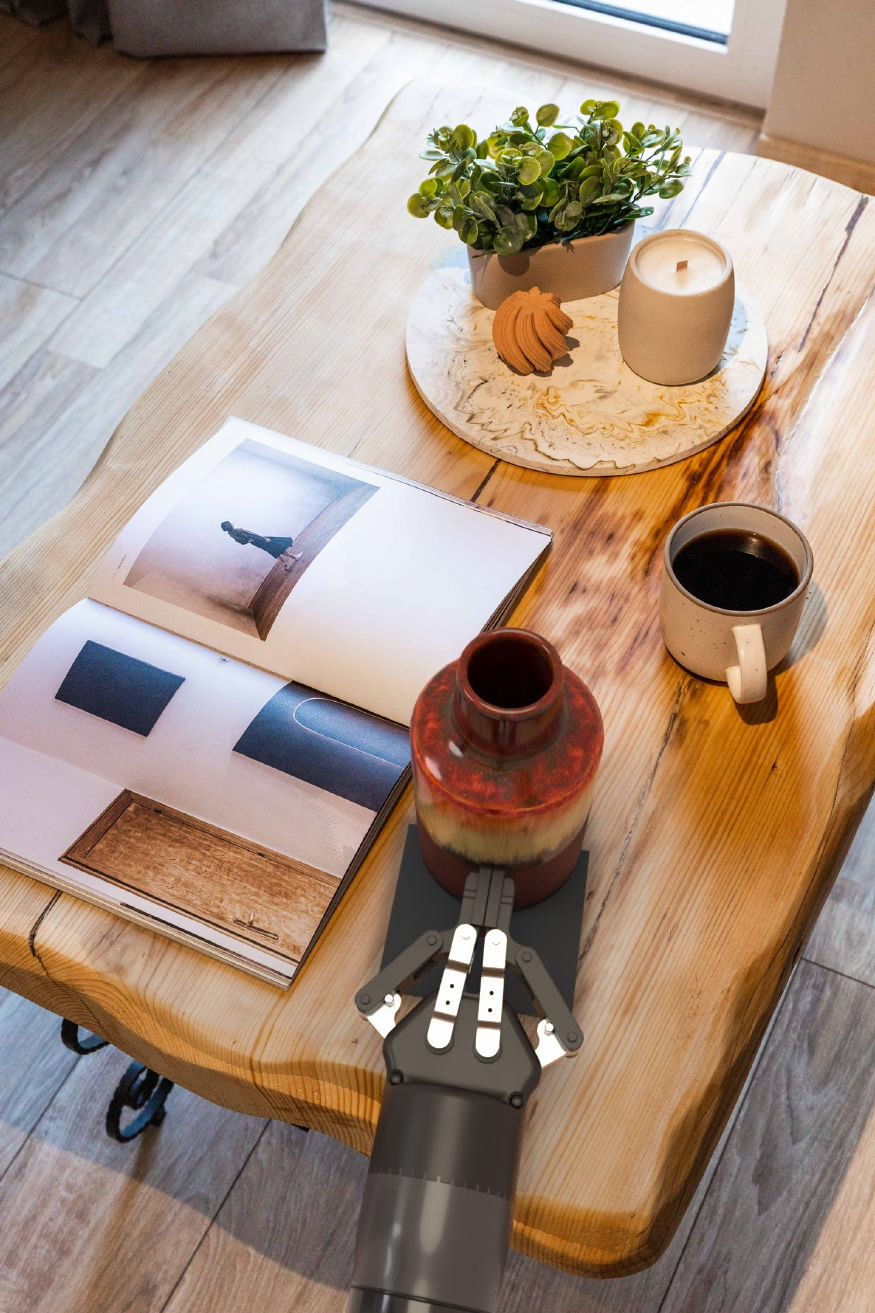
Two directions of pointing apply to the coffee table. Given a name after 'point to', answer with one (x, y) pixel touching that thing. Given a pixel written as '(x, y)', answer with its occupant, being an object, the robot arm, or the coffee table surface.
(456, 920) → the coaster
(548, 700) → the vase
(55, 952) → the coffee table surface
